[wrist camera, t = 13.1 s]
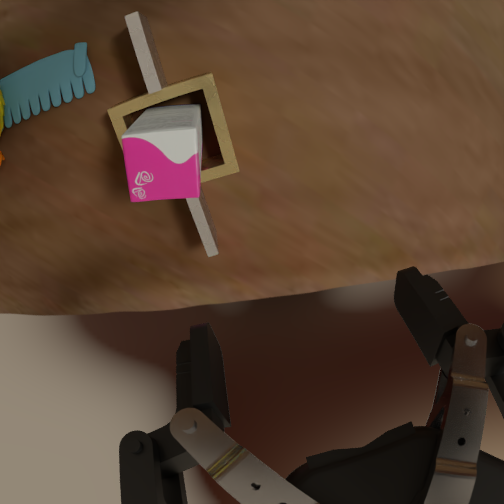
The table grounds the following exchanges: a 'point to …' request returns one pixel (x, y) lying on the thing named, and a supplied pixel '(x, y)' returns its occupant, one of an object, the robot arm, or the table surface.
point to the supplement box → (164, 153)
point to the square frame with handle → (162, 92)
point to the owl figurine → (45, 85)
